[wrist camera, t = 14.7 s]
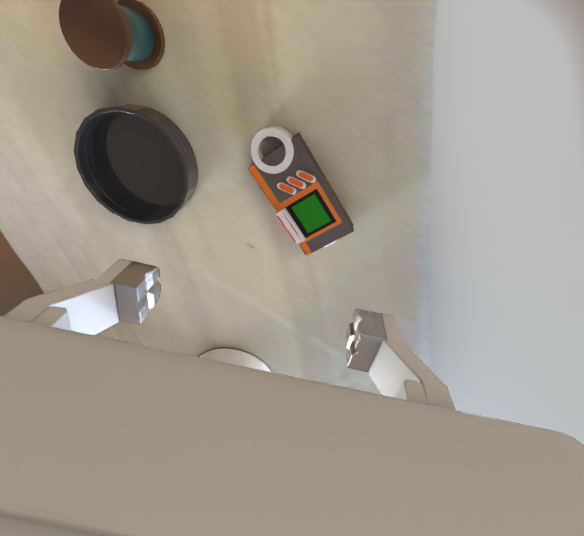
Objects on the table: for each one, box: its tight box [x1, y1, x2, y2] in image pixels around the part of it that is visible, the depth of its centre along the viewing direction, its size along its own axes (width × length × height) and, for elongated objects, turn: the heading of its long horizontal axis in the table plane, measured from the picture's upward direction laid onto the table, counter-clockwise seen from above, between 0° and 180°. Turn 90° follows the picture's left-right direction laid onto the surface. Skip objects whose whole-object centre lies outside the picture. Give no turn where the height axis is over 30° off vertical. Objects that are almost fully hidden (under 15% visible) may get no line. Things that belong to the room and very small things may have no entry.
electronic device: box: [248, 126, 354, 255], centre depth 37 cm, size 7×3×15 cm
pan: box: [74, 104, 198, 224], centre depth 38 cm, size 13×13×3 cm
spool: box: [59, 0, 165, 70], centre depth 29 cm, size 6×6×7 cm
